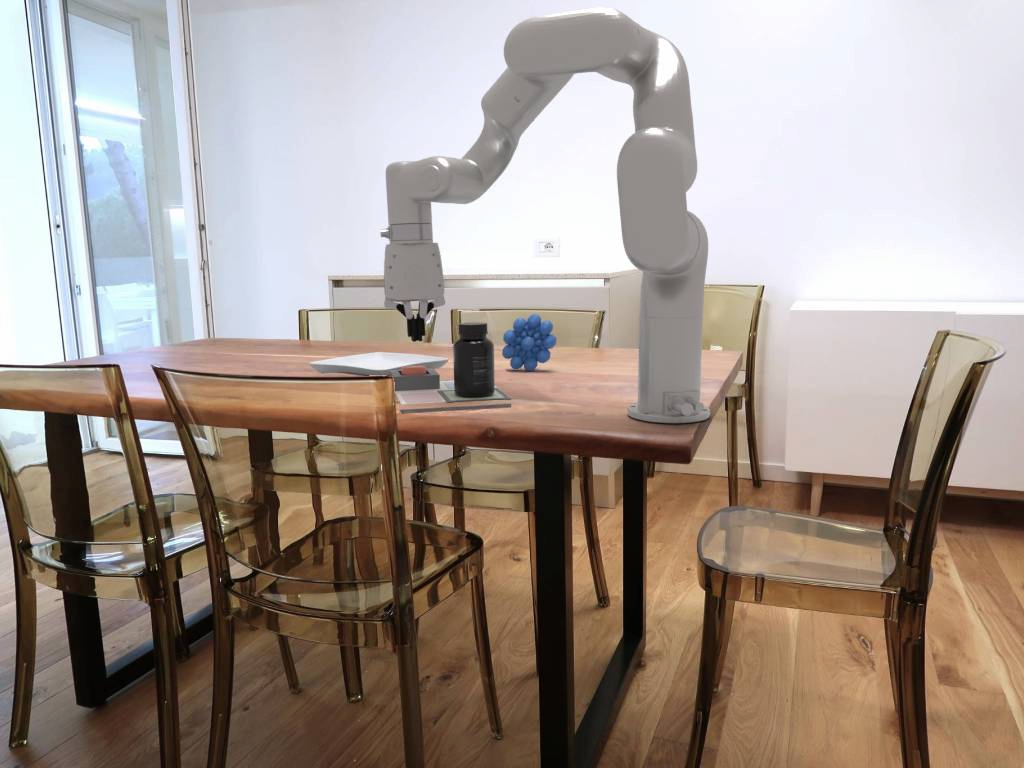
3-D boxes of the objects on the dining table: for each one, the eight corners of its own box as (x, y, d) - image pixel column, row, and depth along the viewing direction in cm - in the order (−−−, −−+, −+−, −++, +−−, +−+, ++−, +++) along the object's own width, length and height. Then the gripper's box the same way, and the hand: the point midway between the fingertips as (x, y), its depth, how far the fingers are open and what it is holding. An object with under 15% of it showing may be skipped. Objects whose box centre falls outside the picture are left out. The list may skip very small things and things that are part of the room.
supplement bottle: (496, 391, 142) (496, 321, 140) (492, 398, 135) (491, 325, 133) (457, 390, 143) (456, 321, 141) (450, 398, 136) (449, 325, 134)
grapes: (560, 368, 177) (560, 312, 175) (554, 373, 170) (554, 315, 168) (506, 367, 179) (506, 311, 177) (499, 372, 173) (498, 314, 171)
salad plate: (378, 364, 187) (377, 349, 186) (451, 372, 175) (451, 356, 175) (306, 378, 170) (305, 361, 169) (382, 387, 158) (381, 369, 157)
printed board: (512, 408, 136) (512, 398, 135) (402, 414, 131) (402, 404, 131) (486, 386, 156) (486, 378, 155) (390, 391, 151) (389, 382, 151)
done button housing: (439, 388, 145) (439, 374, 145) (394, 391, 143) (393, 376, 143) (433, 381, 153) (433, 368, 153) (389, 383, 151) (389, 370, 151)
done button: (428, 379, 146) (427, 368, 146) (403, 381, 145) (402, 369, 145) (424, 376, 151) (424, 365, 150) (400, 377, 150) (400, 366, 149)
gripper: (368, 236, 138) (375, 345, 141) (457, 233, 142) (462, 340, 145) (365, 237, 145) (372, 341, 148) (450, 234, 149) (454, 336, 152)
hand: (416, 340), depth 146 cm, fingers closed
